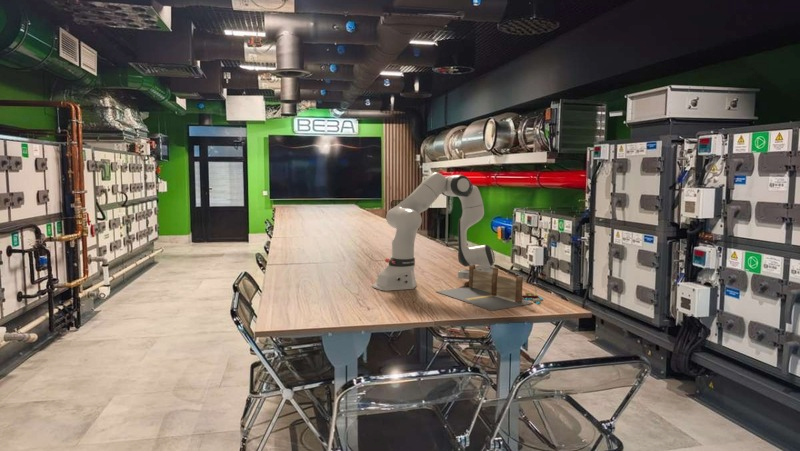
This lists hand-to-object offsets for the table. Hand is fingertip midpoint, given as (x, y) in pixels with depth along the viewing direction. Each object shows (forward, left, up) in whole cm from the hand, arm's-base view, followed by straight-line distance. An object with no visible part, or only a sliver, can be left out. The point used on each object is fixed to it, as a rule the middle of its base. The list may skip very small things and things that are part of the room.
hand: (474, 278), depth 255 cm
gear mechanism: (+10, -27, -6) cm, 30 cm away
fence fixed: (-1, -23, -5) cm, 24 cm away
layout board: (-8, -15, -5) cm, 18 cm away
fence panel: (-1, -6, -4) cm, 8 cm away
